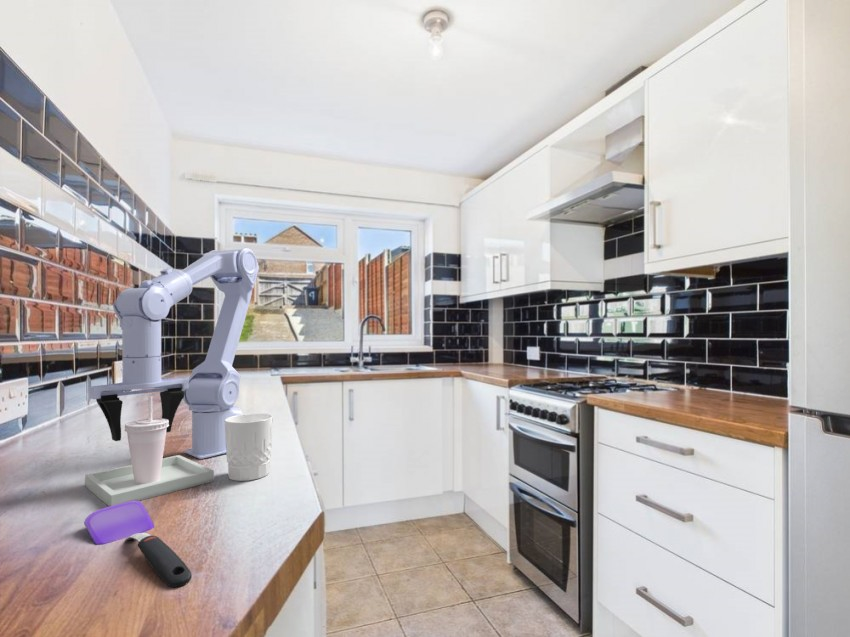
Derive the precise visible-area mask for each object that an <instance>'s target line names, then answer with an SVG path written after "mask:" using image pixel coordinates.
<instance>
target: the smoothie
mask: <svg viewBox="0 0 850 637" xmlns="http://www.w3.org/2000/svg"><path fill="white" fill-rule="evenodd" d="M168 426H169V420H167V419H162V418H153V395H150V396H148V418H146V419H139V420H134V421H129V422H128V423H125V425H124V432H126V433H127V434H126V435H127V441H128V448H129V449H128V450H129V456H130V462H131V465H132V470H133V477H134V483H136V484H145V483H151V482H155V481H157V480H159V479H160V475H161V468H162V460H163V457H164V452H165V444H166V439H167V438H166V437H167V432H166V430H167V427H168Z"/></svg>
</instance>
